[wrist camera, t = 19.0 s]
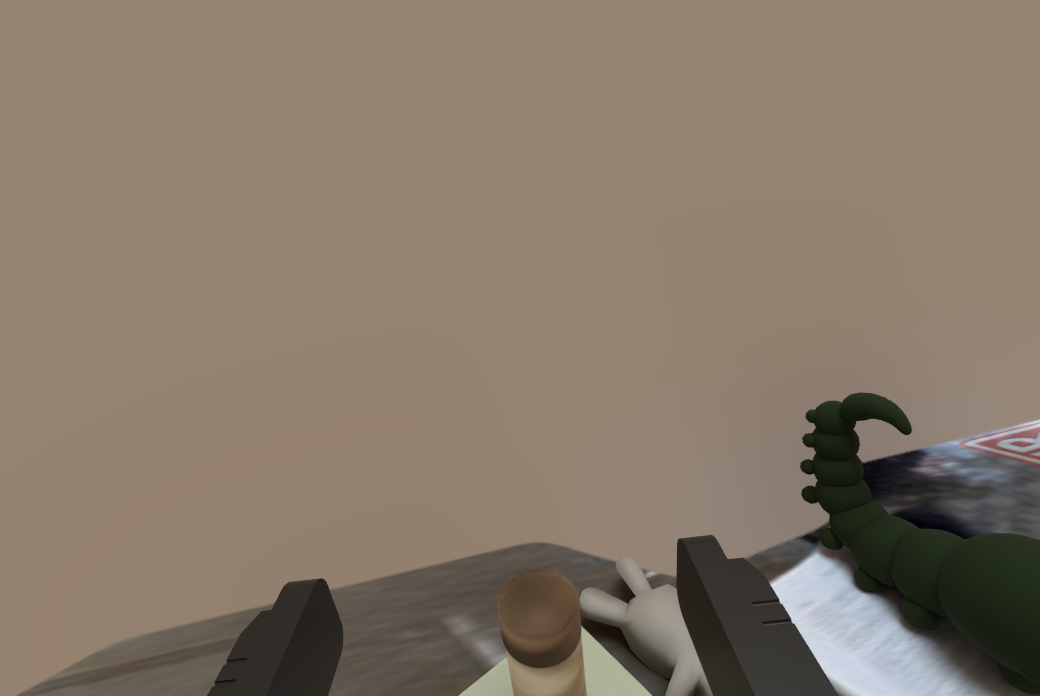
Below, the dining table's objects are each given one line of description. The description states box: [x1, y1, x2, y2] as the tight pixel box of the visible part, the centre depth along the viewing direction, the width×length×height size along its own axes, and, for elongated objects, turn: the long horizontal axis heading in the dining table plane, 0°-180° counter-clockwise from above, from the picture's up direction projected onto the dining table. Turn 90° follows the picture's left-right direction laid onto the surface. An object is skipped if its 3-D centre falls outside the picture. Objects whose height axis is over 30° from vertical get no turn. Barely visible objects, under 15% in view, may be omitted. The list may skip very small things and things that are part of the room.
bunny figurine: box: [579, 555, 713, 696], centre depth 40 cm, size 10×5×15 cm
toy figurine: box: [800, 393, 1040, 694], centre depth 39 cm, size 9×19×25 cm
